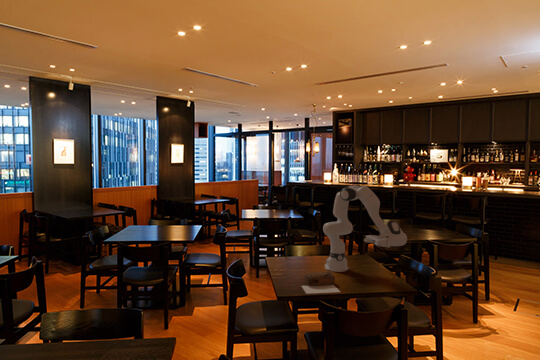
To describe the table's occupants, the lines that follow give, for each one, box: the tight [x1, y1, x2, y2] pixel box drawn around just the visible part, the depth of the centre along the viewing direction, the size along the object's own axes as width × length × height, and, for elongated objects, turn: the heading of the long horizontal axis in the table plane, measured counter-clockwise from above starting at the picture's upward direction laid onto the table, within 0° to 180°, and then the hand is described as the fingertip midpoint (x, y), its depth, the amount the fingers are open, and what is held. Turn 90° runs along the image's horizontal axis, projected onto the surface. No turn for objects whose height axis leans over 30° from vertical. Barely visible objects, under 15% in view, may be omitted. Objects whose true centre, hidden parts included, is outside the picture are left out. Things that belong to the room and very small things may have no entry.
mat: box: [301, 283, 341, 295], centre depth 234 cm, size 15×23×1 cm, turn 98°
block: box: [303, 271, 336, 286], centre depth 244 cm, size 11×8×20 cm
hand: (364, 240), depth 238 cm, fingers closed
